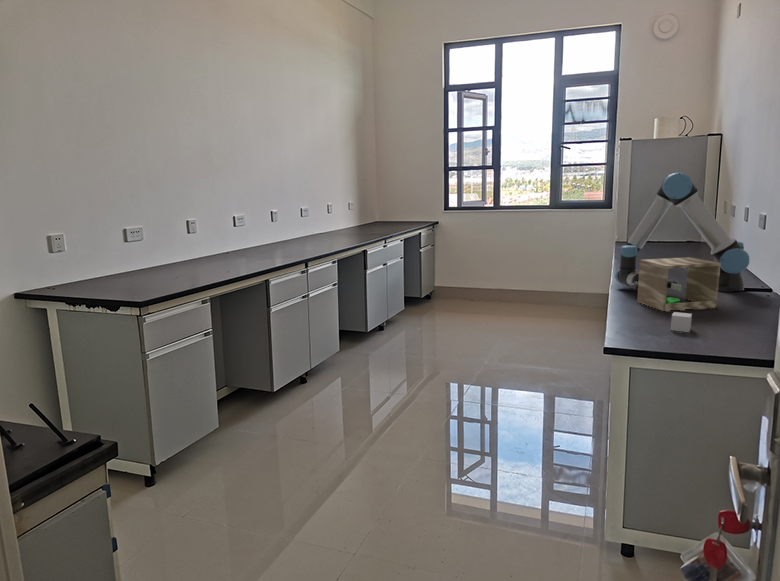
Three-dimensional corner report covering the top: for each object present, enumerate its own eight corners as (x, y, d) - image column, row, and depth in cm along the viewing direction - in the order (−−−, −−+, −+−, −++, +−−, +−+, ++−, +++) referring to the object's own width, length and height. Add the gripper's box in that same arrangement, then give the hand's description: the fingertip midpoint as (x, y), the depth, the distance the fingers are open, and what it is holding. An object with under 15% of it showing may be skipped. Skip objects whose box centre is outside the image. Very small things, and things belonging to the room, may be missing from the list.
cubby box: (687, 299, 256) (690, 257, 252) (716, 307, 239) (720, 262, 235) (637, 302, 252) (639, 259, 248) (662, 311, 235) (666, 265, 231)
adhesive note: (689, 333, 203) (690, 317, 202) (670, 331, 206) (671, 315, 205) (690, 329, 208) (691, 313, 207) (672, 327, 211) (673, 311, 210)
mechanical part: (668, 307, 242) (669, 289, 240) (654, 305, 247) (655, 287, 245) (682, 303, 249) (684, 285, 247) (669, 301, 254) (670, 283, 252)
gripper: (662, 287, 273) (692, 296, 252) (614, 290, 269) (640, 299, 248) (663, 271, 271) (693, 279, 251) (615, 274, 267) (642, 282, 247)
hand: (667, 289), depth 249 cm, fingers open, 13 cm apart
